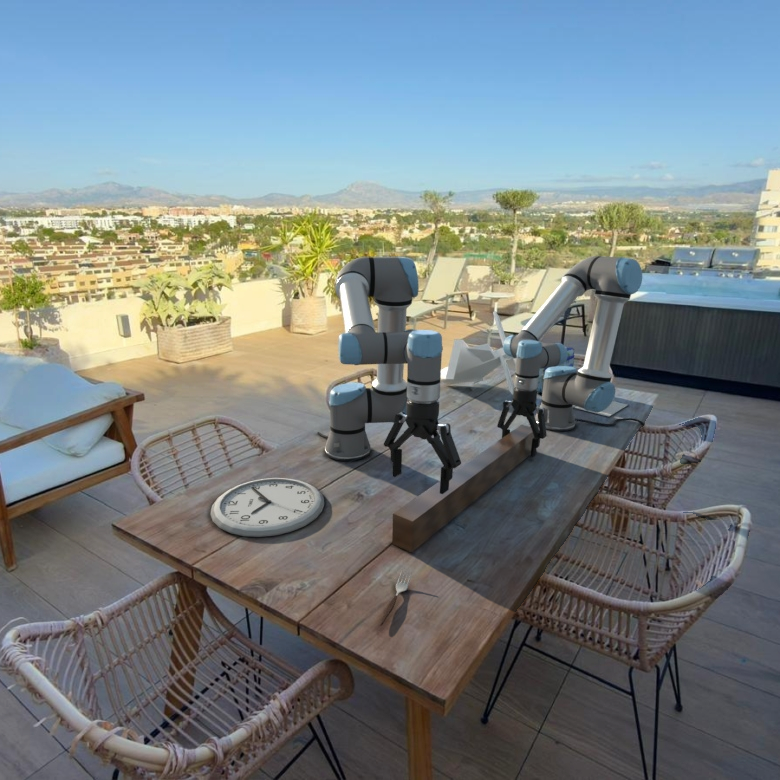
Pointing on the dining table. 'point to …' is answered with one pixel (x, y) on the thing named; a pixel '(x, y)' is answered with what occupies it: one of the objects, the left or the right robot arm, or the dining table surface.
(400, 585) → the fork
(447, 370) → the white plastic object
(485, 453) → the post
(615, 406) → the invitation card
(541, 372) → the lunch box
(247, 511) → the wall clock
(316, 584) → the dining table surface
